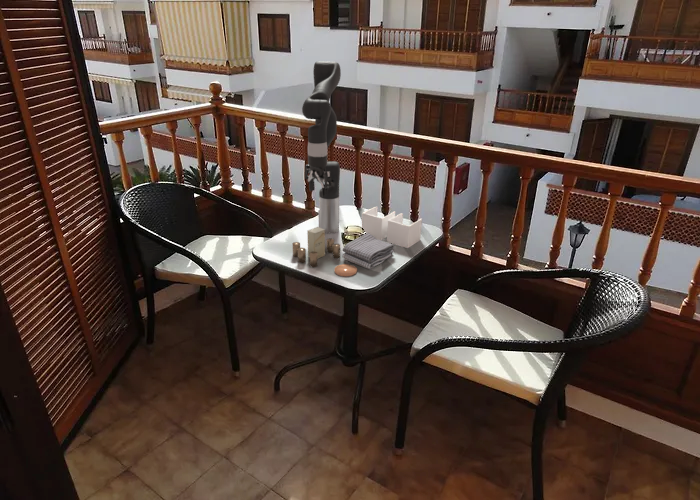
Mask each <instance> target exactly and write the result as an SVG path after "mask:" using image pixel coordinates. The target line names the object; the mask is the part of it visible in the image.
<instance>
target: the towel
mask: <svg viewBox="0 0 700 500" xmlns="http://www.w3.org/2000/svg"><path fill="white" fill-rule="evenodd" d="M394 245H395V244H391V243H388V242H387V241H385V240H378V239H376V238H375V237H374V236H373V235H371V234H370V233H366V234H364V235H361V236H359V237H357V238H355V239H353V240H352V241H349V242H348V243H345V245H344V247H343V248H342V251H343V254H342V258H343V259H344V260H345V261H348V262H350V263H353V264H355V265H358V266H361V267H363V268H365V269H368V270H371V269H374V268H375V267H376V266H378V265H379V266H380V265H381V264H382V263H383V262H385V261H386V260H387V259H388V258H389V257H391V256H392V255H393V253H394V251H395V249H394V247H395V246H394Z"/></svg>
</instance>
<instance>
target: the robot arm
mask: <svg viewBox="0 0 700 500" xmlns="http://www.w3.org/2000/svg"><path fill="white" fill-rule="evenodd" d="M341 75H342V74H341V66H340V64H339V62H337V61H327V60H326V61H325V60H324V61H323V60H321V61H319V60H318V61H316V62H315V63H314V65H313V84H314V87H313V91H312V94H310V95H309V96H308V97H306V99H305V100H304V102H303V103H302V108H301V109H302V111H301V112H302V115H303V116H304V117H305V118H306V119H307V120H314V123H315V124H312V125H309V127H308V128H307V139H308V140H307V164H305V165H304V178H305V180H307V182H308V190H309V191H310V192H313V191H315V180H316V181H317V182H318V183H320V185H321V188H320V189H319V193H318V197H319V200H318V202H319V203H318V205H319V207H318V208H319V210H318V227H320V228H322V229H325V234H327V235H328V234H329V235H330V234H336V233H338V232H339V231H340V178H341V177H340V176H341V168H340V167H341V165H340V163H339V162H338V161H335V160H334V161H328V148H329V147H330V145H331V143H332V141H334V138H336V135H337V130H338V129H337V128H338V127H337V125H338V124H337V120H338V119H337V115H336V113H335V111H334V108H333V107H332V105H331V103H330V99H331V96H332V94H333V92H334V91H335V89H336V88H337V87H338V85H339V83H340V81H341Z"/></svg>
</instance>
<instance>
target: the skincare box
mask: <svg viewBox="0 0 700 500" xmlns="http://www.w3.org/2000/svg"><path fill="white" fill-rule="evenodd" d="M306 234H307V257H308V258H310V257H309V253H310V252H317V260H318V259H320V258H322V257H325V256H326V245H325V244H326V243H325V242H326V238H325V237H326V233H325V229H322V228H320V227H319V226H316V227H314V228H311V229H308V230H307V233H306Z"/></svg>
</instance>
